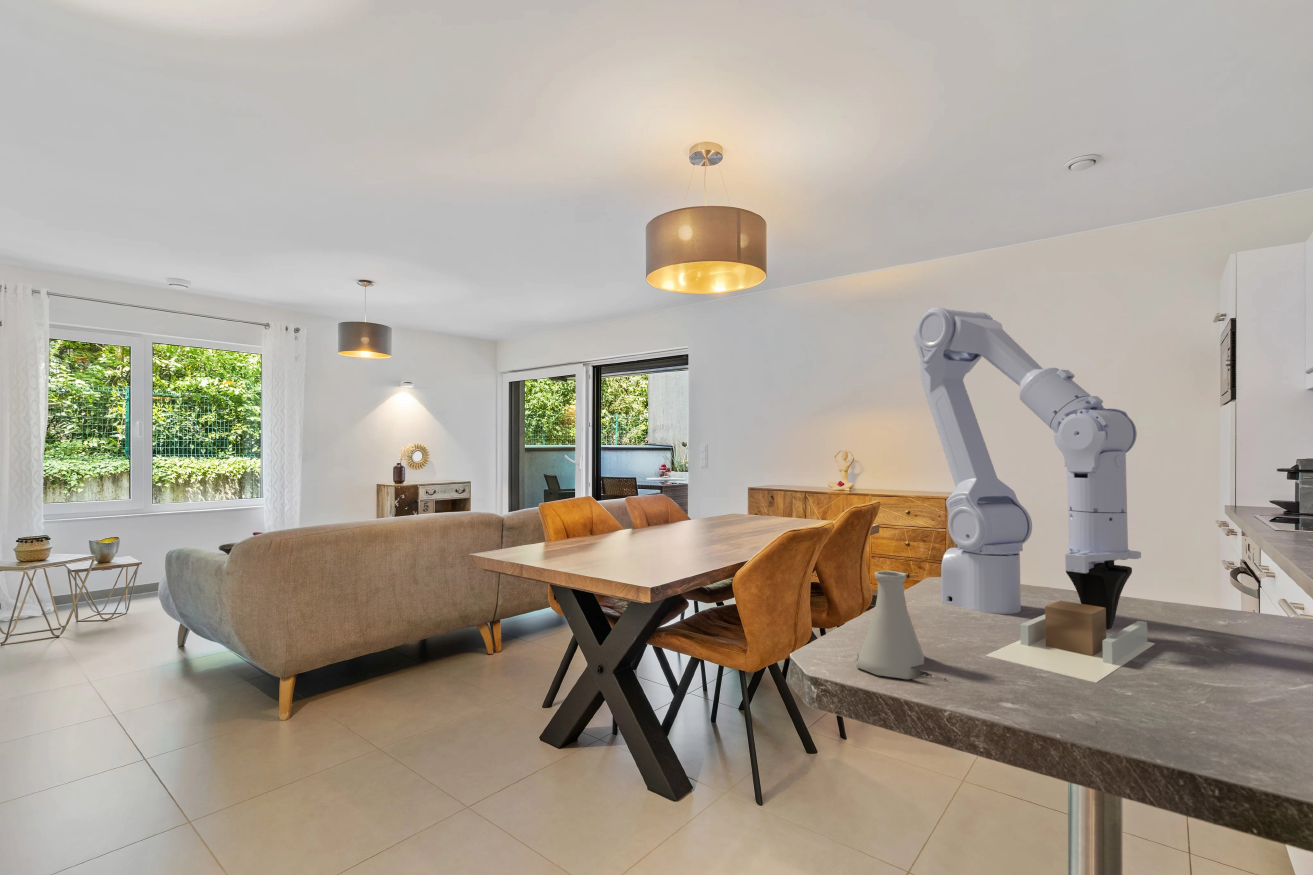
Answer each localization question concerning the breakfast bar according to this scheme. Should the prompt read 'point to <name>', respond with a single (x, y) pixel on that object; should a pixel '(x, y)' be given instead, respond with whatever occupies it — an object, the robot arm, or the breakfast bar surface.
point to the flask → (891, 633)
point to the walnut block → (1075, 627)
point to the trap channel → (1069, 663)
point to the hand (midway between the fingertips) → (1099, 627)
